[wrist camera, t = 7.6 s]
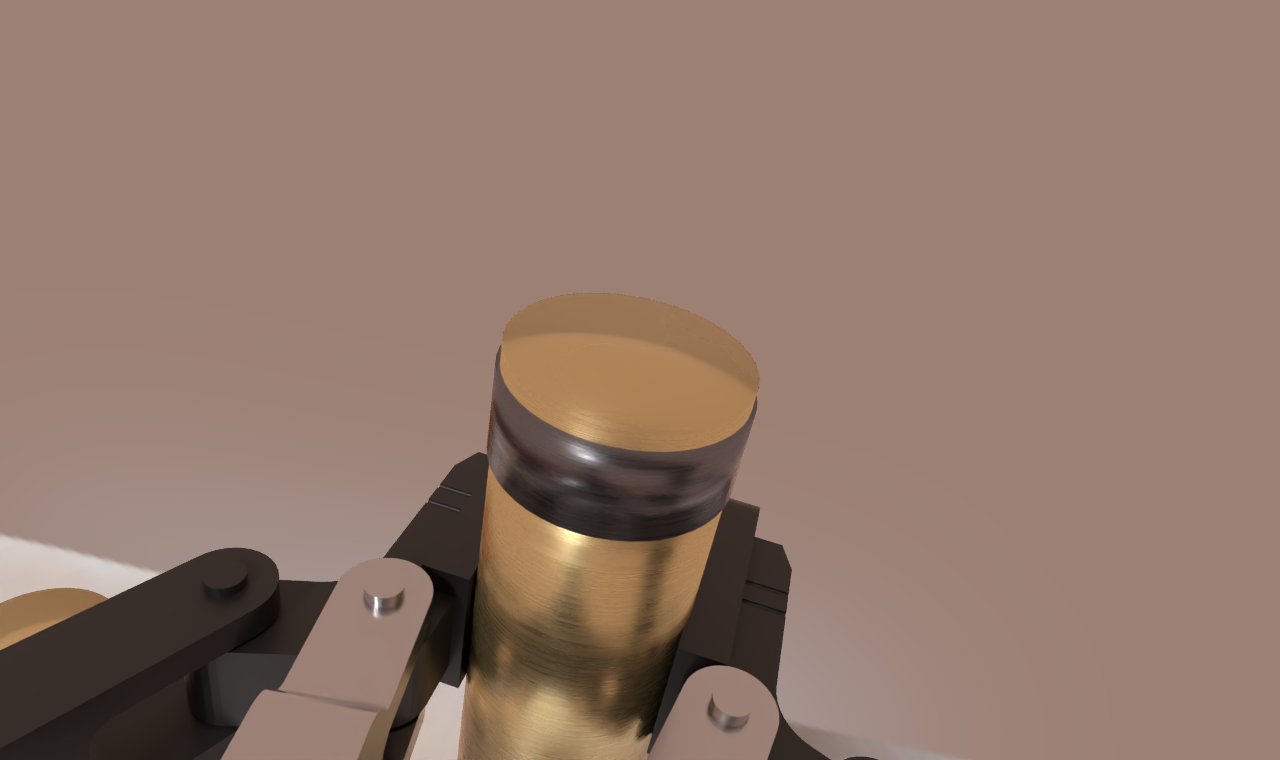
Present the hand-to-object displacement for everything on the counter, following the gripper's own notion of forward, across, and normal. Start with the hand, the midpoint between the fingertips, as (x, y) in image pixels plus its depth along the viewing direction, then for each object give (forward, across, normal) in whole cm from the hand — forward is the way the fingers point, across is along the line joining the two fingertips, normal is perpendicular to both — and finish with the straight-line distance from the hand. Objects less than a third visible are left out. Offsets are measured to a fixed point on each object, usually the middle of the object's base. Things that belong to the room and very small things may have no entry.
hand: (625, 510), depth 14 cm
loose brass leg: (-3, 0, +6) cm, 7 cm away
